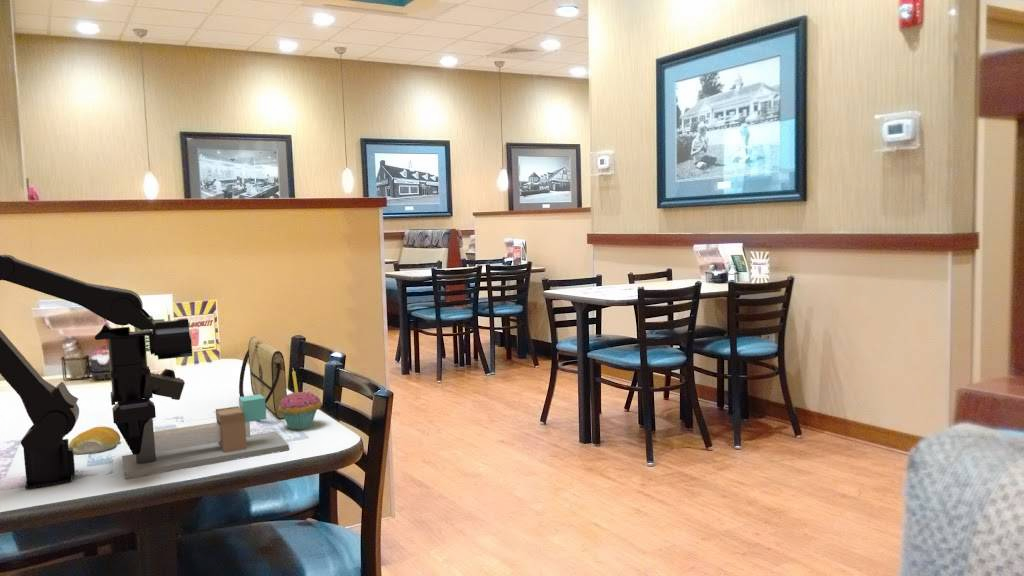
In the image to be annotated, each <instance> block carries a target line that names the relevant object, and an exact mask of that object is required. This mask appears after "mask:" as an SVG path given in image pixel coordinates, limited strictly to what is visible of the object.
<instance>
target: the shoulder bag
mask: <svg viewBox="0 0 1024 576" xmlns="http://www.w3.org/2000/svg"><path fill="white" fill-rule="evenodd" d="M247 347H248V349H247V351H246V353H245V355H244V357H243V360H242V365H241V367H240V375H239V382H238V383H239V384H238V392H239V393H238V394H239V397H244V396H245V393H244V380H245V379H244V378H245V372H246V368H247V363H248V365H249V373H250V387H251V392H252V395H258V394H261V395H262V396H263V397H264V398H265V405H266V407H267V408H268V409H269V410H271V412H272V413H273V414H274V415H275V416H276V417H277V419H279V420H282V419H285V418H284V416H283V414H282V413H281V412H279V410H278V409H279V403H280V401H281V400H282V399H283V398H284V397H285V396H287V395H288V394H287V393H288V392H287V381H286V380H287V379H286V378H287V376H286V364H285V363H286V362H285V358H284V356H283V353H282V352H281V350H278V349H276V348H274V347H272V346H271V345H269V344H268V343H266V342H264V341H262V340H261V339H259V338H257V337H256V336H253V337H250V339H249V342H248V346H247Z"/></svg>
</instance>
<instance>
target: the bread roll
mask: <svg viewBox="0 0 1024 576" xmlns="http://www.w3.org/2000/svg"><path fill="white" fill-rule="evenodd" d="M119 433H120V432H118V431H117V430H115V429H114V428H112V427H110V426H109V427H108V426H95V427H92V428H89V429H87V430H86V431H82V432H80V433H79V434H77V435H76V436H74V437H73V438H72V439H71V440H70V442H69V448H70V447H72V448H73V453H74V454H75V455H87V454H88V455H89V454H97V453H102V452H105V451H109V450H112V449H113V448H114V447H116V446H117V445H118V444H119V443H120V442H121V435H120V434H119Z"/></svg>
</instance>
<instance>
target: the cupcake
mask: <svg viewBox="0 0 1024 576" xmlns="http://www.w3.org/2000/svg"><path fill="white" fill-rule="evenodd" d="M291 375H292V382H293V388H294V392H291V393H289V394H287V396H285V397H284V398H283V399H282V400H281V401H280V403H279V409H278V410H279V412H281V413H282V414H283V416H284V418H283V419H285V423H286V424H287V427H288V429H291V430H303V429H307V428H308V429H309V428H311V427H313V423H314V419H315V416H316V413H317V410H319V409H321V407H322V401H321V398H319V396H318V395H316V394H314V393H313V392H312V393H311V392H309V391H308V392H306V391H299V389H298V382H297V373H296V371H295V369H294V367H292V372H291Z"/></svg>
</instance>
